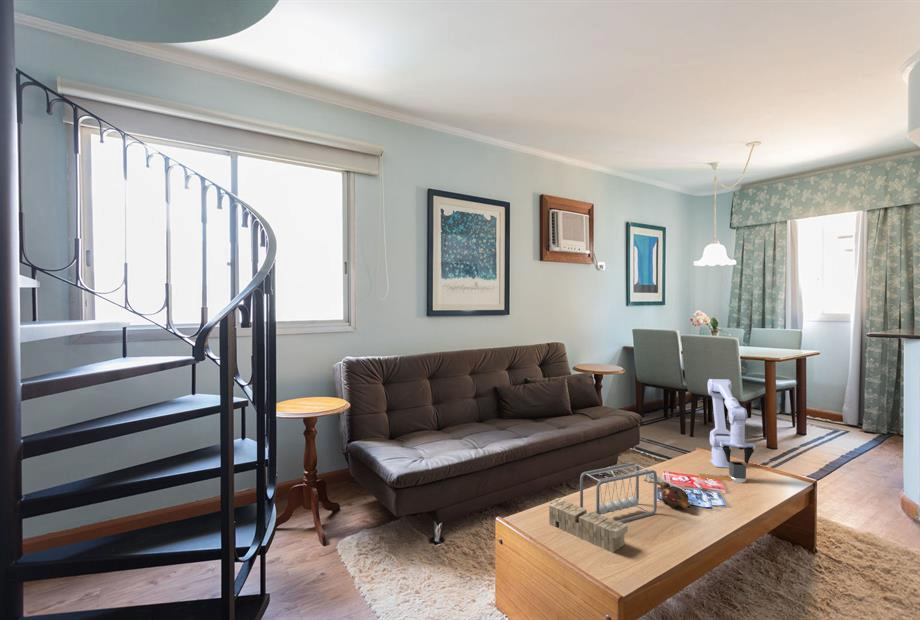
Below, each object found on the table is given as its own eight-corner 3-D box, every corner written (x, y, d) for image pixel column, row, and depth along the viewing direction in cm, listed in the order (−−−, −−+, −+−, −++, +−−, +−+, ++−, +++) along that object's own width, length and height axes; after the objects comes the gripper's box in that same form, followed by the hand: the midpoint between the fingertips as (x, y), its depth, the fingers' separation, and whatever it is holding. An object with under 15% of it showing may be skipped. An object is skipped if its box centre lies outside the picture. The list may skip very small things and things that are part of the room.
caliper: (643, 481, 209) (643, 468, 209) (645, 480, 210) (645, 467, 209) (689, 495, 193) (689, 481, 193) (690, 494, 194) (690, 480, 194)
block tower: (546, 525, 170) (616, 555, 148) (545, 503, 170) (615, 530, 148) (558, 519, 175) (628, 547, 153) (558, 497, 175) (627, 522, 153)
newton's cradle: (597, 529, 164) (597, 482, 164) (579, 517, 174) (579, 472, 174) (657, 514, 176) (657, 469, 176) (637, 503, 186) (637, 461, 186)
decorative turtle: (667, 496, 192) (669, 478, 192) (698, 513, 178) (700, 494, 178) (650, 499, 188) (652, 480, 188) (680, 517, 175) (682, 497, 174)
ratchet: (701, 480, 209) (701, 469, 209) (697, 475, 216) (697, 464, 216) (748, 483, 205) (748, 472, 205) (742, 478, 212) (742, 467, 212)
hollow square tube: (729, 473, 212) (729, 461, 212) (741, 474, 211) (741, 462, 211) (733, 477, 207) (733, 465, 207) (745, 478, 206) (745, 465, 206)
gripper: (723, 435, 206) (723, 464, 207) (758, 437, 203) (758, 466, 204) (718, 431, 213) (718, 459, 214) (751, 432, 210) (751, 461, 211)
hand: (737, 462), depth 209 cm, fingers open, 7 cm apart
